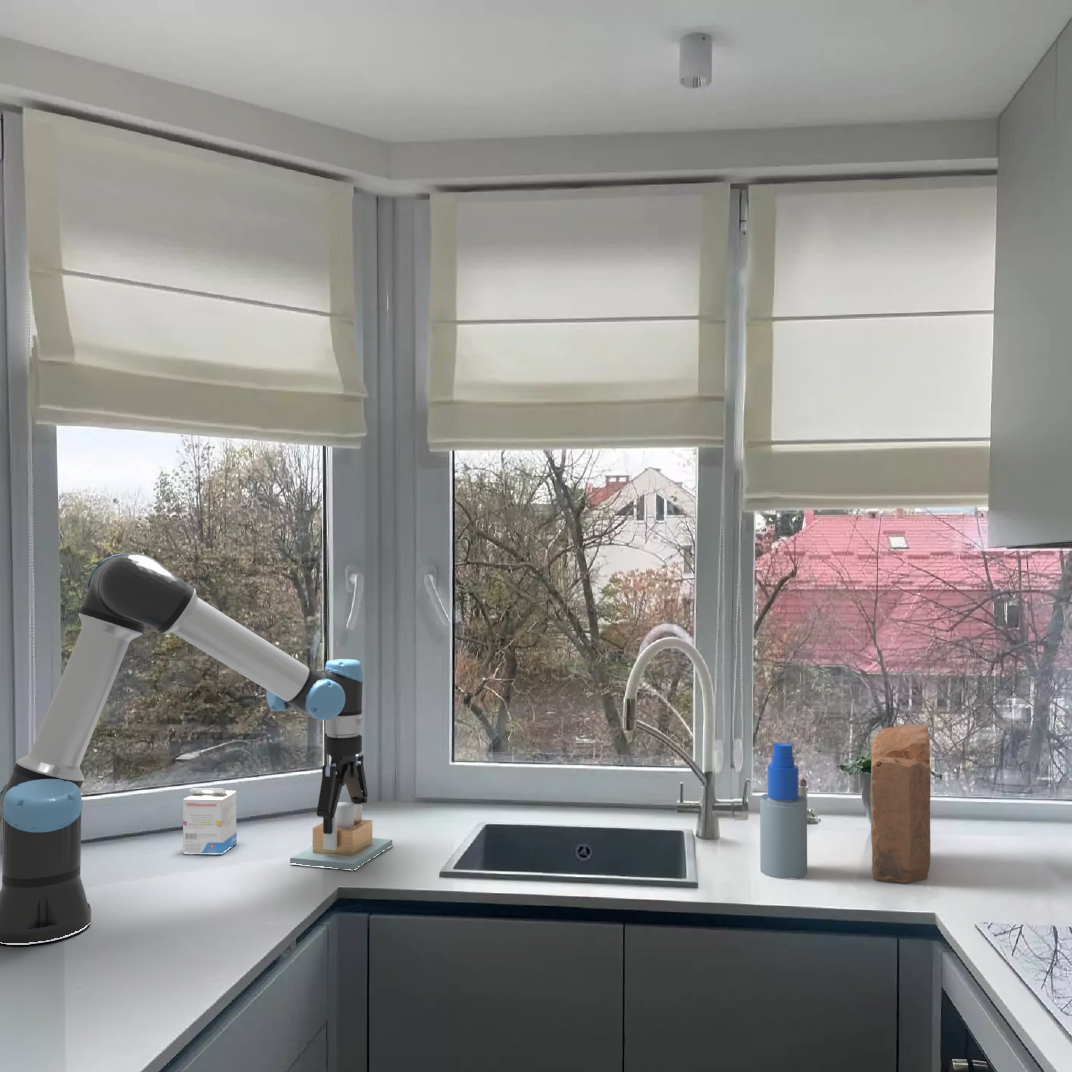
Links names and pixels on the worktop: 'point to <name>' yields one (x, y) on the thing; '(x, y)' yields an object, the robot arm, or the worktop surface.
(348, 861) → the post stand
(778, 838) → the spray bottle
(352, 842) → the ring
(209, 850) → the ink box
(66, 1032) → the worktop surface
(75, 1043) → the worktop surface
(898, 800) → the stone
